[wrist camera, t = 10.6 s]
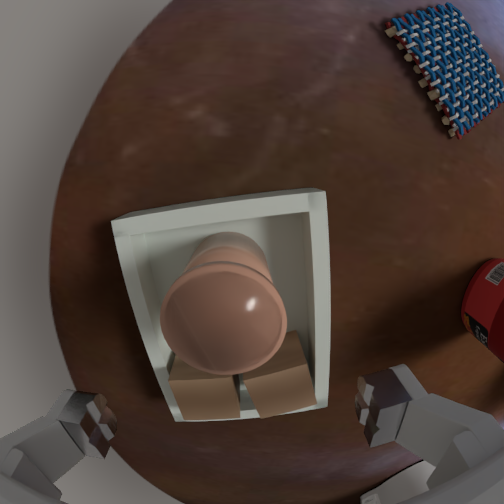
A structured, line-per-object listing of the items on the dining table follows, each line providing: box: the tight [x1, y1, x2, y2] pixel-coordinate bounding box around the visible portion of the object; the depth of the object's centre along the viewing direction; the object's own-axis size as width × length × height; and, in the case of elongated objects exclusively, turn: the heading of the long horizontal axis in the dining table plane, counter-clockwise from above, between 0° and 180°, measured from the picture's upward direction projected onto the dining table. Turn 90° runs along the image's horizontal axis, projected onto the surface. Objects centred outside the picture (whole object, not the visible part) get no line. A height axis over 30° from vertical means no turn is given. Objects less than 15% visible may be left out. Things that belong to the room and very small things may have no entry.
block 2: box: [243, 330, 317, 419], centre depth 19 cm, size 4×4×4 cm
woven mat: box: [385, 2, 504, 139], centre depth 15 cm, size 10×11×2 cm
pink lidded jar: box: [160, 232, 287, 375], centre depth 15 cm, size 5×5×7 cm
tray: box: [111, 187, 331, 421], centre depth 19 cm, size 16×12×3 cm
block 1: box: [168, 355, 240, 420], centre depth 19 cm, size 4×4×4 cm
